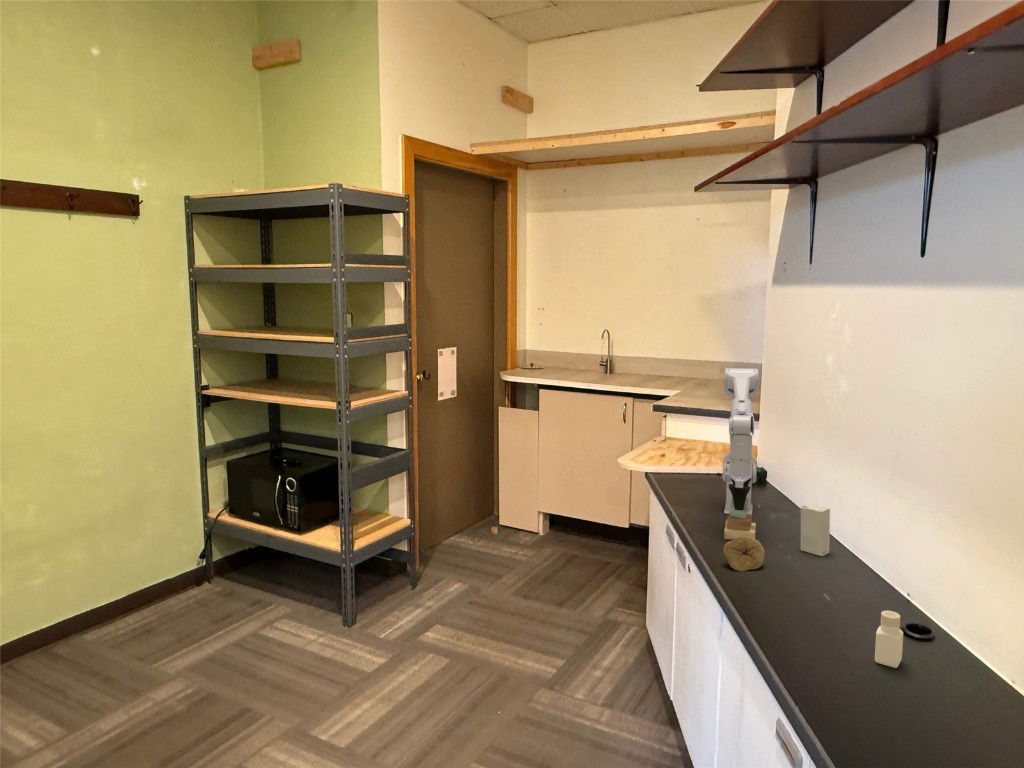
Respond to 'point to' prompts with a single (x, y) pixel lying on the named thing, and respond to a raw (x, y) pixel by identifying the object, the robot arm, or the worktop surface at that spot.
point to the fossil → (744, 553)
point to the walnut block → (739, 523)
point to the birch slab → (739, 532)
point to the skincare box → (815, 529)
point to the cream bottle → (889, 640)
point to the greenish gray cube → (738, 512)
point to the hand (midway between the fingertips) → (739, 505)
